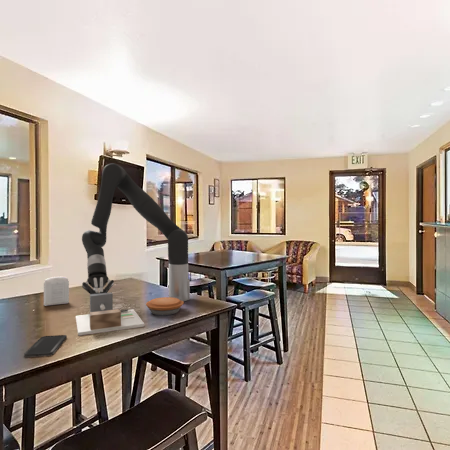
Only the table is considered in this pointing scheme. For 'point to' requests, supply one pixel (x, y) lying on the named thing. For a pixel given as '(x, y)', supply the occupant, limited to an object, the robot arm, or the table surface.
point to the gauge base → (127, 322)
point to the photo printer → (56, 291)
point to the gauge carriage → (102, 302)
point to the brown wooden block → (105, 319)
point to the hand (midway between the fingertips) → (99, 302)
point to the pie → (164, 305)
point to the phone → (45, 346)
